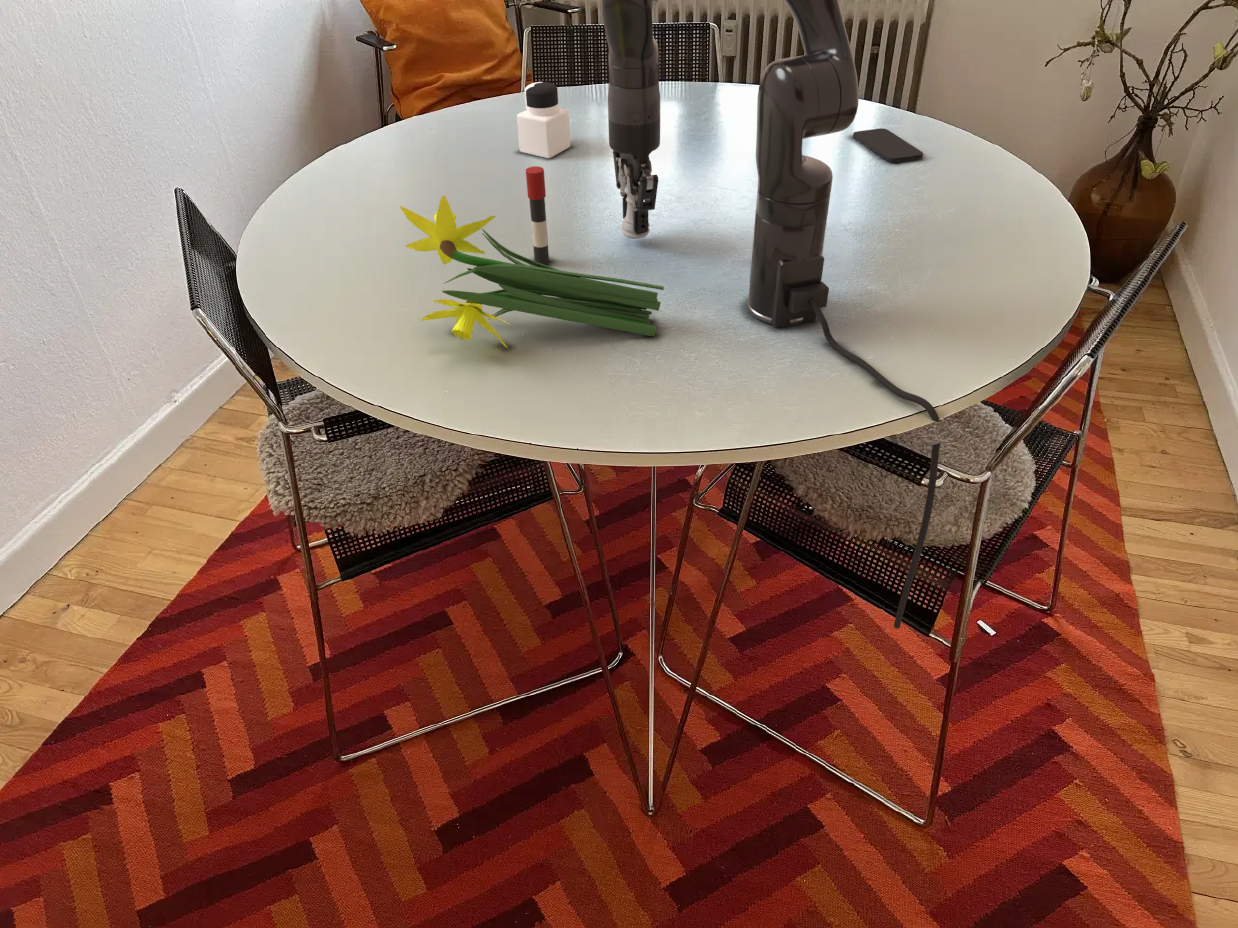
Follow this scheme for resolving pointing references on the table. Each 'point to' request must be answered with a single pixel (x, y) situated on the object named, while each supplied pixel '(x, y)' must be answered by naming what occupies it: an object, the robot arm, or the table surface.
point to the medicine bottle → (543, 122)
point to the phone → (887, 145)
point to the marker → (538, 213)
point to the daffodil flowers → (528, 284)
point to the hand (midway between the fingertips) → (635, 225)
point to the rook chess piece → (630, 219)
